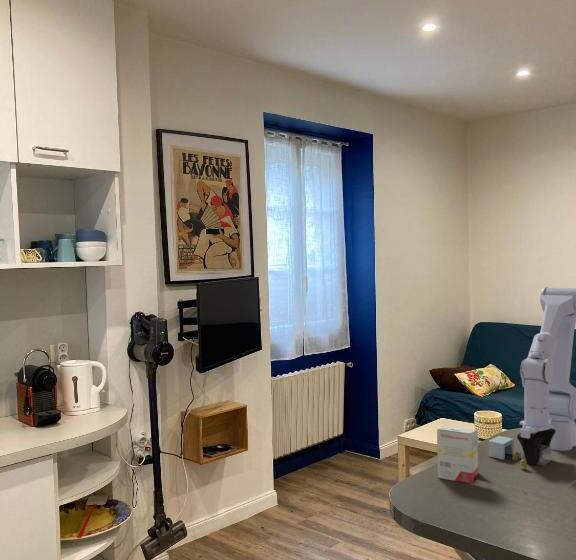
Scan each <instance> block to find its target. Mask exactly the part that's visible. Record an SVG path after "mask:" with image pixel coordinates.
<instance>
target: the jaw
mask: <svg viewBox="0 0 576 560" xmlns="http://www.w3.org/2000/svg"><path fill="white" fill-rule="evenodd" d="M551 452H552V449H551V446H548V445H543V444H540V446H539V449H538V456H537V462H536V465H538V466H542V467H543V466H545V465H546V464H549V463H550V462H551V461H552V459H551V458H552V457H551V456H552V453H551ZM523 459H524V460H526V459H525V455H524V451H523V450H522V460H523Z"/></svg>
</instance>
